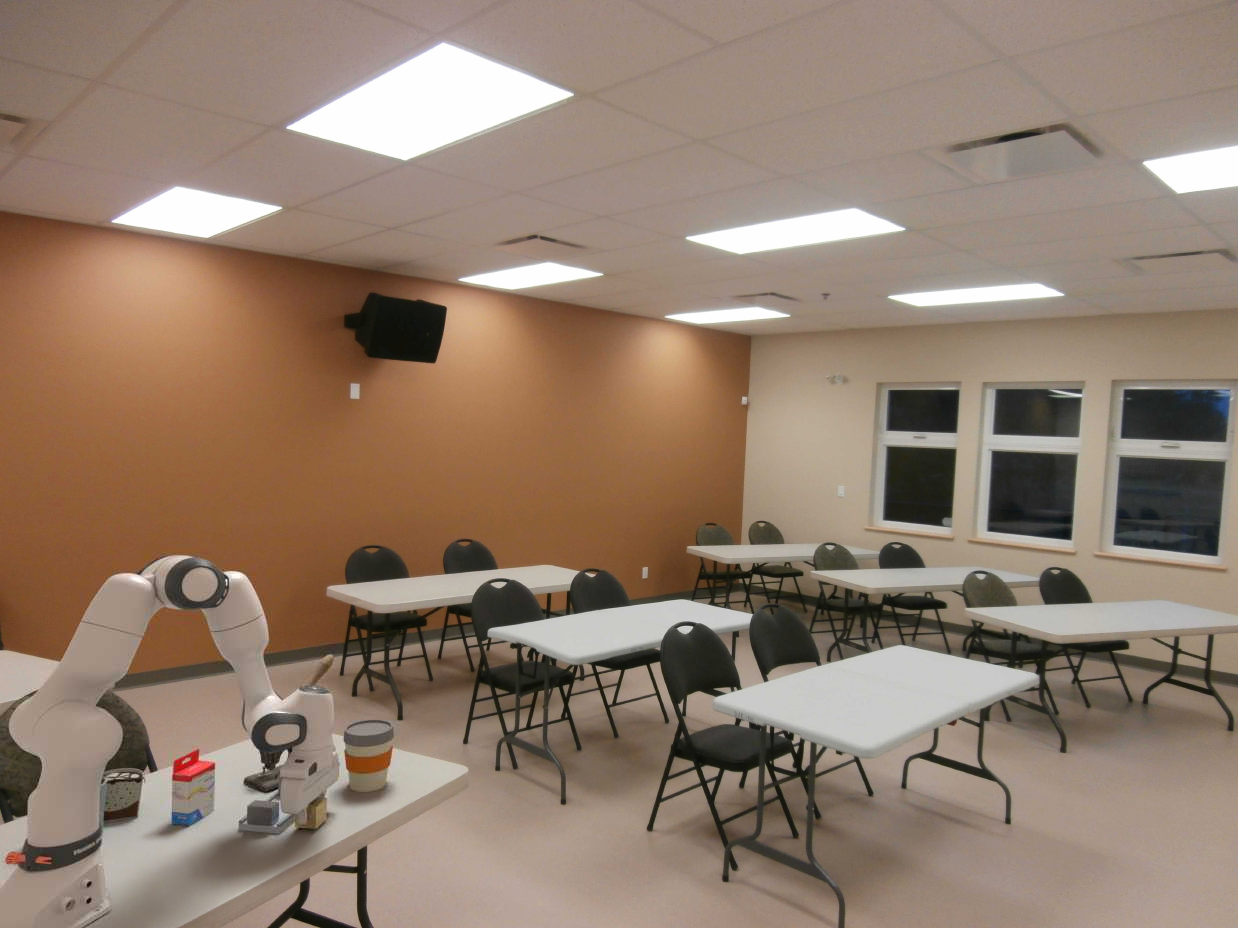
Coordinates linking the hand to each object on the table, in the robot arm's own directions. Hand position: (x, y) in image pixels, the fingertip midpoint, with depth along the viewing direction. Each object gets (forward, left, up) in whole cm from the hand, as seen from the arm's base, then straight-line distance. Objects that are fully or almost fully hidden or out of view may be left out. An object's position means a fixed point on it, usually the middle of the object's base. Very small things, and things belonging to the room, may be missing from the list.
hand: (311, 815), depth 181 cm
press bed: (+4, +10, -2) cm, 11 cm away
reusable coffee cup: (+23, -3, -3) cm, 24 cm away
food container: (-3, +47, -3) cm, 47 cm away
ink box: (-1, +29, -3) cm, 29 cm away
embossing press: (+26, +19, -3) cm, 33 cm away
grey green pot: (-14, +47, -3) cm, 49 cm away
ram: (-2, +10, -1) cm, 10 cm away
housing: (0, 0, -2) cm, 2 cm away
